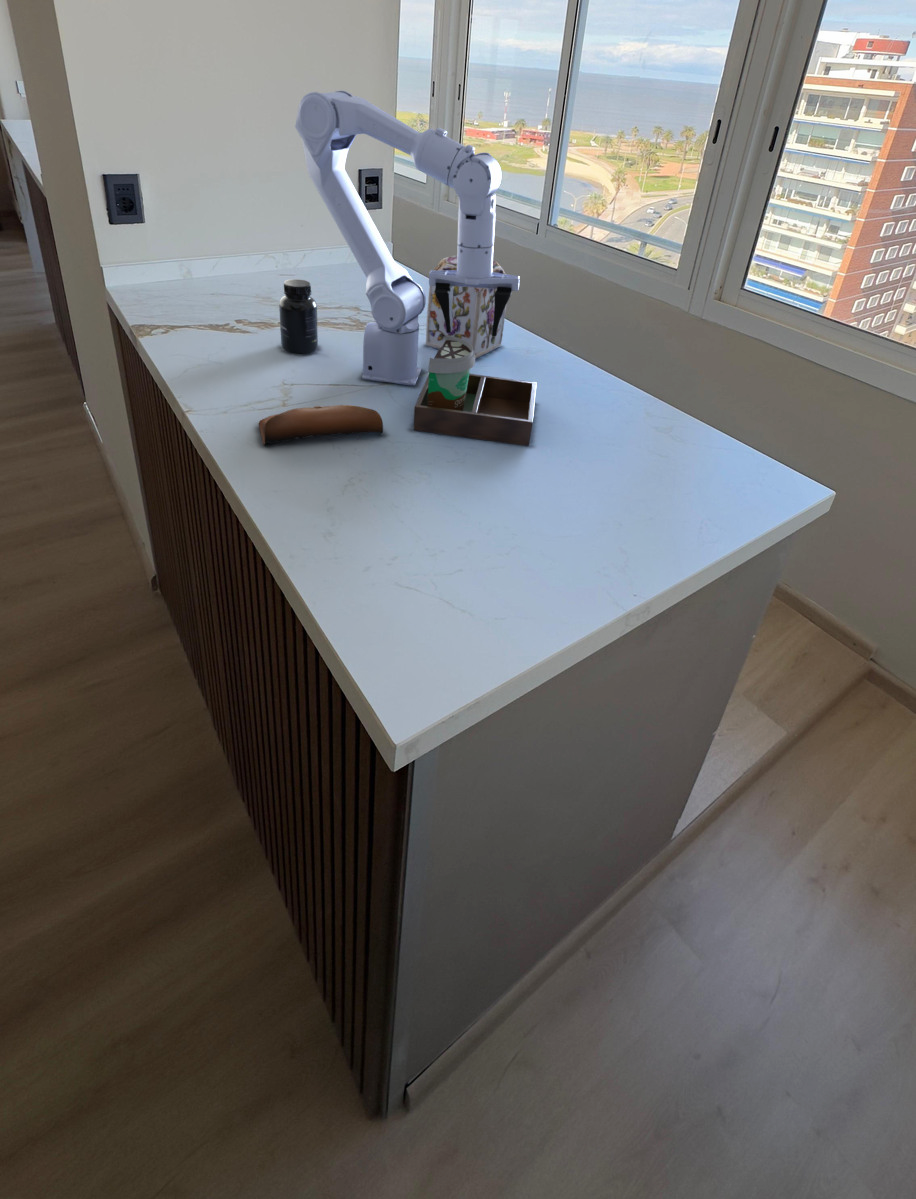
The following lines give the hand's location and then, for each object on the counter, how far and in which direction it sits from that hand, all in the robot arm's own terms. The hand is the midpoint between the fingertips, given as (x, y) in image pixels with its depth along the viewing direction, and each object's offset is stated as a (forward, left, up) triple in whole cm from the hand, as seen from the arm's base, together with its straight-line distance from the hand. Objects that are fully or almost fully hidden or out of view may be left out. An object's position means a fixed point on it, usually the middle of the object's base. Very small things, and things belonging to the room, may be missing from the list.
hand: (472, 332), depth 122 cm
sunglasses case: (-20, -23, -11) cm, 32 cm away
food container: (-1, -10, -10) cm, 14 cm away
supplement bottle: (-33, +10, -11) cm, 36 cm away
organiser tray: (+3, -10, -10) cm, 15 cm away
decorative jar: (-3, +23, -11) cm, 26 cm away
